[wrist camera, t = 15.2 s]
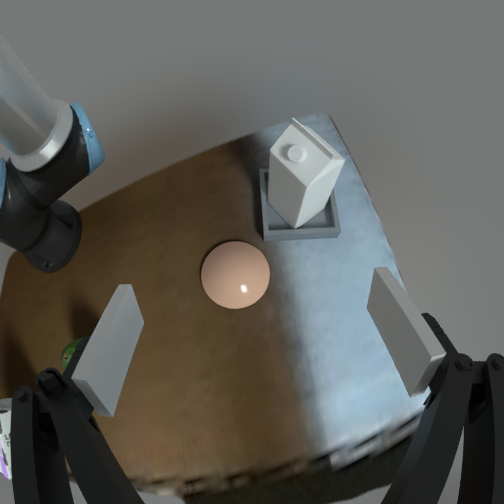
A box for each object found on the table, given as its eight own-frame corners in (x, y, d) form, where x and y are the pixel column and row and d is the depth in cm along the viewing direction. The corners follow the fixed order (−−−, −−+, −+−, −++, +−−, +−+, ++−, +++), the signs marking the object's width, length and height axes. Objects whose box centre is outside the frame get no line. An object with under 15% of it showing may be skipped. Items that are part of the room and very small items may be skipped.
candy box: (59, 460, 37) (10, 481, 21) (40, 450, 37) (-10, 466, 21) (55, 402, 41) (-3, 412, 25) (35, 393, 41) (-21, 399, 25)
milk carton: (297, 180, 52) (312, 106, 33) (324, 208, 50) (353, 141, 32) (267, 202, 50) (269, 130, 32) (294, 232, 49) (311, 169, 30)
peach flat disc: (189, 286, 47) (188, 286, 46) (224, 231, 50) (223, 230, 49) (247, 321, 45) (247, 321, 44) (281, 262, 48) (282, 261, 47)
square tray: (263, 241, 49) (264, 235, 46) (259, 177, 53) (259, 168, 50) (336, 237, 49) (340, 231, 46) (326, 175, 53) (328, 167, 50)
